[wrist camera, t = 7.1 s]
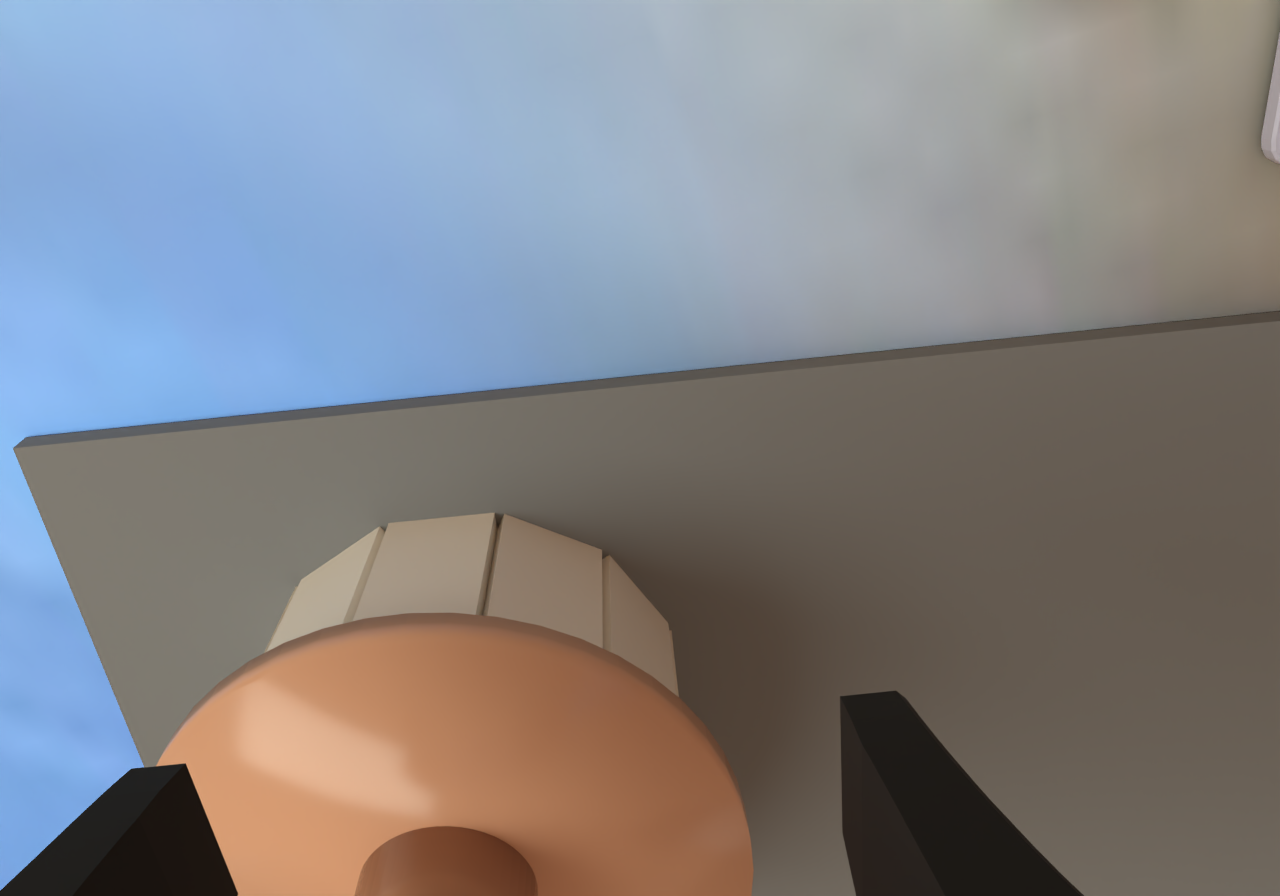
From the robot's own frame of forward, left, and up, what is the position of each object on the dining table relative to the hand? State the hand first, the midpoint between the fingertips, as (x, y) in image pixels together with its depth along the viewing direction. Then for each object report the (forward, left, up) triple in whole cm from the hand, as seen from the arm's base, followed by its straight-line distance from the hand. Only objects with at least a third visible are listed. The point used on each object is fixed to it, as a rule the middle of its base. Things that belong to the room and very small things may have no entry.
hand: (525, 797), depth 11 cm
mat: (-3, +8, -10) cm, 13 cm away
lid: (+3, +7, -5) cm, 9 cm away
